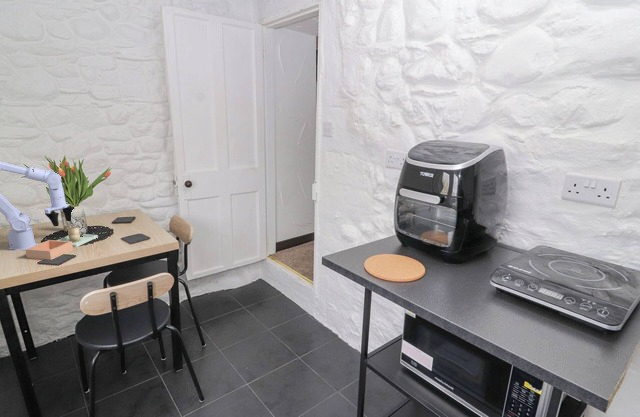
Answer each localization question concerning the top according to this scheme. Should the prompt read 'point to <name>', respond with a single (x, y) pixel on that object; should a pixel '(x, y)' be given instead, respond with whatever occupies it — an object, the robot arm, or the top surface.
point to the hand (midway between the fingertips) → (62, 223)
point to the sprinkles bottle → (63, 220)
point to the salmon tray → (49, 249)
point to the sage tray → (83, 240)
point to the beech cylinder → (74, 234)
